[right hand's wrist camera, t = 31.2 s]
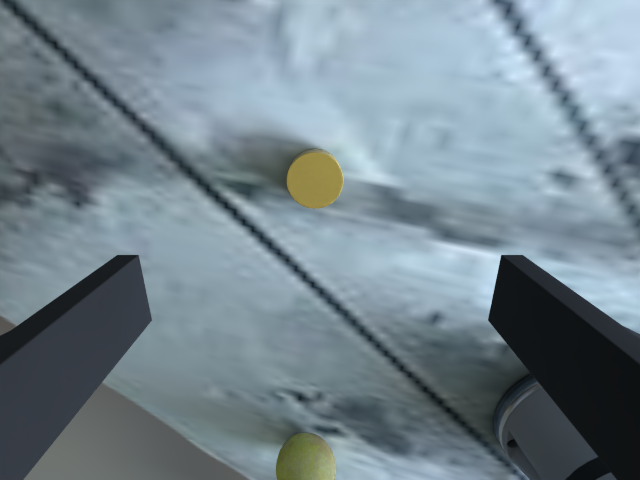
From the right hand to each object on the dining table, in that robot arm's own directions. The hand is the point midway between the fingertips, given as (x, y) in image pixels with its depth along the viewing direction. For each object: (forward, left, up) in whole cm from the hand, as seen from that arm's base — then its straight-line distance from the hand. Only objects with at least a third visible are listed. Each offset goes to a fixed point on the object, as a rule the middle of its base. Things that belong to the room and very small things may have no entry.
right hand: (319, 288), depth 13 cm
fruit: (-28, -15, -18) cm, 36 cm away
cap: (0, 0, -16) cm, 16 cm away
